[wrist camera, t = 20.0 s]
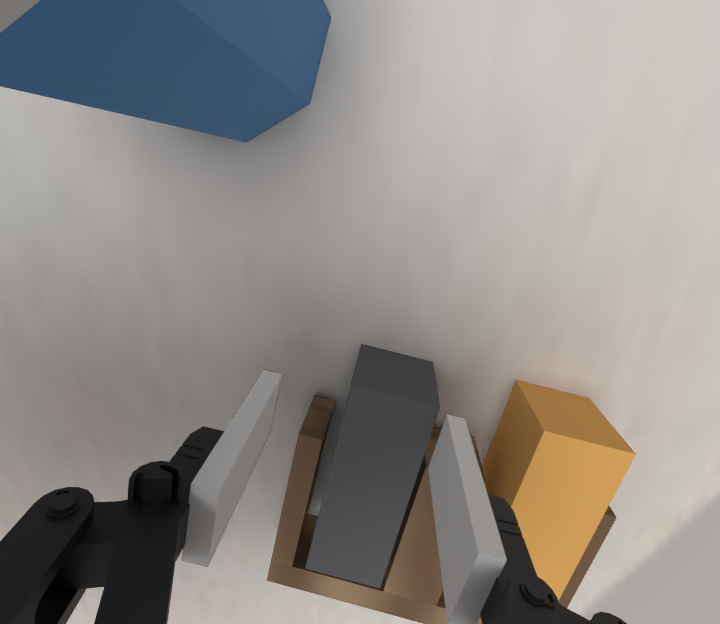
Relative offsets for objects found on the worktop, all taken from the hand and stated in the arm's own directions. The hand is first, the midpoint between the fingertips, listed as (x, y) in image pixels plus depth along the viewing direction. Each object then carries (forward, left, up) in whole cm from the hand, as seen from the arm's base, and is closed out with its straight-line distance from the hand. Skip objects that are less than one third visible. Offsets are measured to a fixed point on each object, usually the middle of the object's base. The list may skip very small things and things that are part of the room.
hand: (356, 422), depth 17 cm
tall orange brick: (+10, -4, -6) cm, 13 cm away
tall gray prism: (+1, -5, -6) cm, 8 cm away
